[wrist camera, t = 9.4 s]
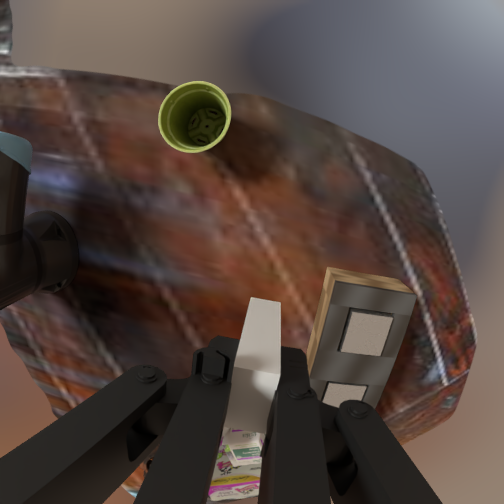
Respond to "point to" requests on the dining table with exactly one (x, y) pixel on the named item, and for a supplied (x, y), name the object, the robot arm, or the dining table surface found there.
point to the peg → (365, 331)
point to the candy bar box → (233, 479)
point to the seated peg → (342, 392)
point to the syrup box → (243, 447)
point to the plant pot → (194, 116)
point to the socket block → (332, 324)
